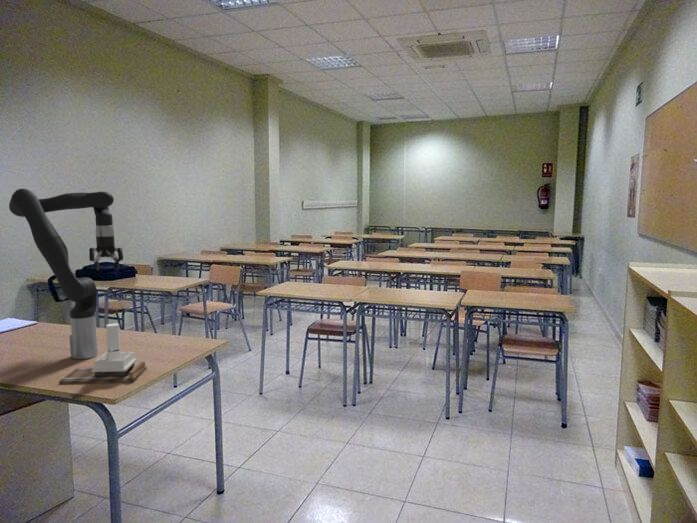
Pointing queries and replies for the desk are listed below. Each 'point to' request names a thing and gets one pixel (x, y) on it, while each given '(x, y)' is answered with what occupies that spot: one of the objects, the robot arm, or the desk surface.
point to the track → (103, 376)
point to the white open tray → (114, 364)
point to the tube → (113, 341)
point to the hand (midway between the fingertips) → (107, 270)
